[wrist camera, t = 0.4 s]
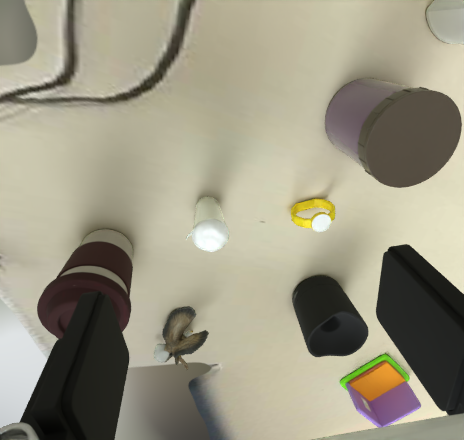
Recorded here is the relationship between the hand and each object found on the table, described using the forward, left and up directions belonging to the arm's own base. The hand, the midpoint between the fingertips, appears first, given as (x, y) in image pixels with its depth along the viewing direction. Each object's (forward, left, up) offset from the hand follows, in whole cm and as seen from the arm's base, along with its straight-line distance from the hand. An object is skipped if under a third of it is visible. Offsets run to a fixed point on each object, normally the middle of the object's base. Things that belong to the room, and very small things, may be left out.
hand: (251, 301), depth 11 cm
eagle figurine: (+36, -9, -35) cm, 51 cm away
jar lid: (+3, +20, -23) cm, 31 cm away
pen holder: (+33, +15, -35) cm, 51 cm away
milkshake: (+13, -2, -35) cm, 38 cm away
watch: (+15, +13, -35) cm, 41 cm away
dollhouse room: (+60, +29, -35) cm, 76 cm away
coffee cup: (+18, -17, -35) cm, 43 cm away
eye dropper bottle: (-7, +29, -35) cm, 46 cm away
